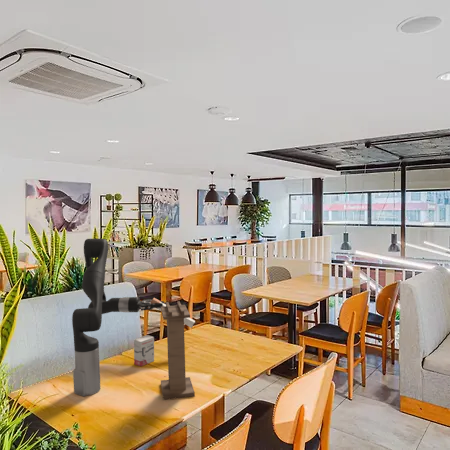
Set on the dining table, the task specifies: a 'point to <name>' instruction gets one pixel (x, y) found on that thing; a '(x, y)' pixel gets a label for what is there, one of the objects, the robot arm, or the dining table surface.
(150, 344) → the ink box
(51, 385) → the dining table surface
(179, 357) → the wooden pedestal post
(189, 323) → the cream white long bar
